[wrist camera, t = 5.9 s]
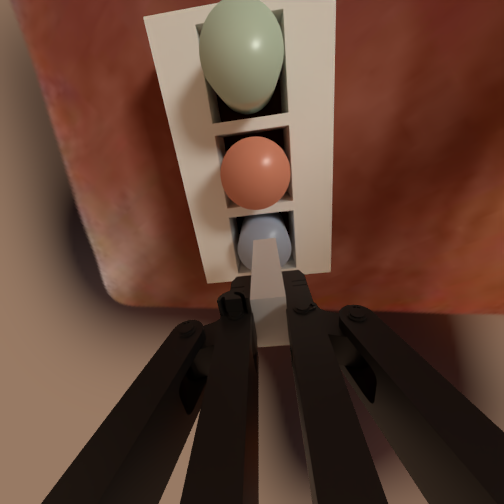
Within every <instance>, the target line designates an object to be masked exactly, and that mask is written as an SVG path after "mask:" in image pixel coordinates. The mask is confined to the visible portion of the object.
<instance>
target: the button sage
mask: <svg viewBox="0 0 504 504" xmlns="http://www.w3.org/2000/svg"><path fill="white" fill-rule="evenodd" d="M199 56H200V62H201V67H202V70H203V73H204V75H205V77H206V79H207V81H208V82H209V84H210V85H211V87H212V88H213V89H214V90H215V92H216V93H217V94H218V95H219V96H220V98H221V99H222V100H223V101H224V103H225V104H226V105H227V106H228V107H229V108H230V109H232V110H233V111H235V112H237V113H240V114H246V115H247V114H254V113H256V112H258V111H260V110H262V109H263V108H264V107H265V106H266V105H267V104H268V103H269V101H270V100H271V98H272V96H273V93H274V90H275V87H276V84H277V81H278V77H279V74H280V71H281V68H282V63H283V56H284V43H283V36H282V32H281V29H280V26H279V23H278V21H277V19H276V17H275V16H274V14H273V13H272V11H271V10H270V9H269V8H268V7H267V6H266V5H265V4H264V3H263V2H261V1H260V0H222V1H221V2H219V3H218V4H217V5H216V6H215V7H214V8H213V9H212V10H211V12H210V13H209V14H208V16H207V18H206V20H205V22H204V24H203V27H202V30H201V34H200V40H199Z"/></svg>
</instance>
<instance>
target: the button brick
mask: <svg viewBox="0 0 504 504" xmlns="http://www.w3.org/2000/svg"><path fill="white" fill-rule="evenodd" d="M220 176H221V182H222V186H223V189H224V191H225V192H226V194H227V195H228V197H229V198H230V199H231V200H232V201H233V202H234V203H236V204H237V205H239V206H241V207H243V208H246V209H250V210H260V209H265V208H268V207H270V206H272V205H274V204H275V203H276V202H278V201H279V200H280V199H281V198H282V196H283V195H284V194H285V192H286V190H287V188H288V185H289V182H290V164H289V161H288V158H287V156H286V154H285V152H284V151H283V150H282V148H281V147H280V146H279V145H277V144H276V143H275V142H273V141H271V140H270V139H267V138H264V137H257V136H255V137H247V138H244V139H241V140H240V141H238V142H236V143H235V144H234V145H233V146H231V147H230V149H229V150H228V151H227V153H226V154H225V156H224V158H223V161H222V164H221V170H220Z"/></svg>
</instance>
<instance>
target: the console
mask: <svg viewBox="0 0 504 504" xmlns="http://www.w3.org/2000/svg"><path fill="white" fill-rule="evenodd" d="M260 1H261V2H263V3H264V4H265V5H266V6H267V7H268V8H269V9H270V10H271V11H272V13H273V14H274V16H275V17H276V19H277V21H278V23H279V26H280V29H281V32H282V36H283V43H284V56H283V63H282V68H281V71H280V74H279V76H280V93H281V109H282V114H276V115H269V116H262V117H255V118H248V119H241V120H235V121H228V122H221V119H220V113H219V106H218V100H217V94H216V92H215V90H214V89H213V88H212V87H211V85H210V84H209V82H208V81H207V79H206V77H205V75H204V73H203V70H202V67H201V62H200V56H199V40H200V34H201V30H202V27H203V24H204V22H205V20H206V18H207V16H208V14H209V13H210V12H211V10H212V9H213V8H214V7H215V6H216V5H217V4H218V3H215V4H210V5H204V6H199V7H194V8H188V9H183V10H177V11H172V12H167V13H161V14H156V15H150V16H145V17H143V18H144V22H145V27H146V31H147V35H148V39H149V43H150V47H151V51H152V56H153V60H154V64H155V68H156V72H157V76H158V81H159V85H160V89H161V93H162V97H163V101H164V105H165V110H166V114H167V118H168V122H169V126H170V130H171V134H172V139H173V143H174V147H175V151H176V155H177V159H178V163H179V168H180V172H181V176H182V180H183V184H184V188H185V192H186V197H187V201H188V205H189V209H190V213H191V217H192V222H193V226H194V230H195V234H196V238H197V242H198V246H199V251H200V255H201V259H202V263H203V267H204V271H205V275H206V280H207V284H209V283H219V282H230V281H233V280H234V279H235V278H236V277H238V276H248V275H251V272H252V270H250V269H249V268H247V267H246V266H245V265H244V264H243V263H242V262H241V260H240V258H239V255H238V243H239V232H238V226H237V220H236V217H239V216H248V215H257V214H265V213H274V212H283V211H288V222H289V238H290V242H291V255H290V257H289V260H288V261H287V263H286V264H285V265H284V266H283V267H281V271H290V270H300V271H301V272H302V273H303V274H314V273H325V272H331V234H332V180H333V127H334V73H335V20H336V0H260ZM279 129H283V141H284V152H285V154H286V156H287V158H288V161H289V164H290V182H289V185H288V188H287V190H286V192H285V194H284V195H283V196H282V198H281V199H280V200H279V201H278V202H276V203H275V204H274V205H272V206H270V207H268V208H265V209H260V210H250V209H246V208H243V207H241V206H239V205H237V204H236V203H234V202H233V201H232V200H231V199H230V198H229V197H228V195H227V194H226V192H225V191H224V189H223V186H222V182H221V176H220V170H221V164H222V161H223V158H224V156H225V154H226V150H225V144H224V138H223V137H229V136H236V135H244V134H251V133H258V132H265V131H272V130H279Z"/></svg>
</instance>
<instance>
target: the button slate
mask: <svg viewBox="0 0 504 504" xmlns="http://www.w3.org/2000/svg"><path fill="white" fill-rule="evenodd" d="M269 238H276V243H277V249H278V254H279V260H280V266H281V267H283V266H284V265H285V264H286V263H287V261H288V260H289V257H290V255H291V242H290V239H289V236H288V233H287V230H286V227H285V224H284V220H283V218H282V216H281V215H280V213H279V212H274V213H265V214H257V215H248V216H245V217H244V219H243V223H242V228H241V233H240V238H239V243H238V255H239V258H240V260H241V262H242V263H243V264H244V265H245V266H246V267H247V268H249V269H250V270H252V255H253V240H260V239H269Z"/></svg>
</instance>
